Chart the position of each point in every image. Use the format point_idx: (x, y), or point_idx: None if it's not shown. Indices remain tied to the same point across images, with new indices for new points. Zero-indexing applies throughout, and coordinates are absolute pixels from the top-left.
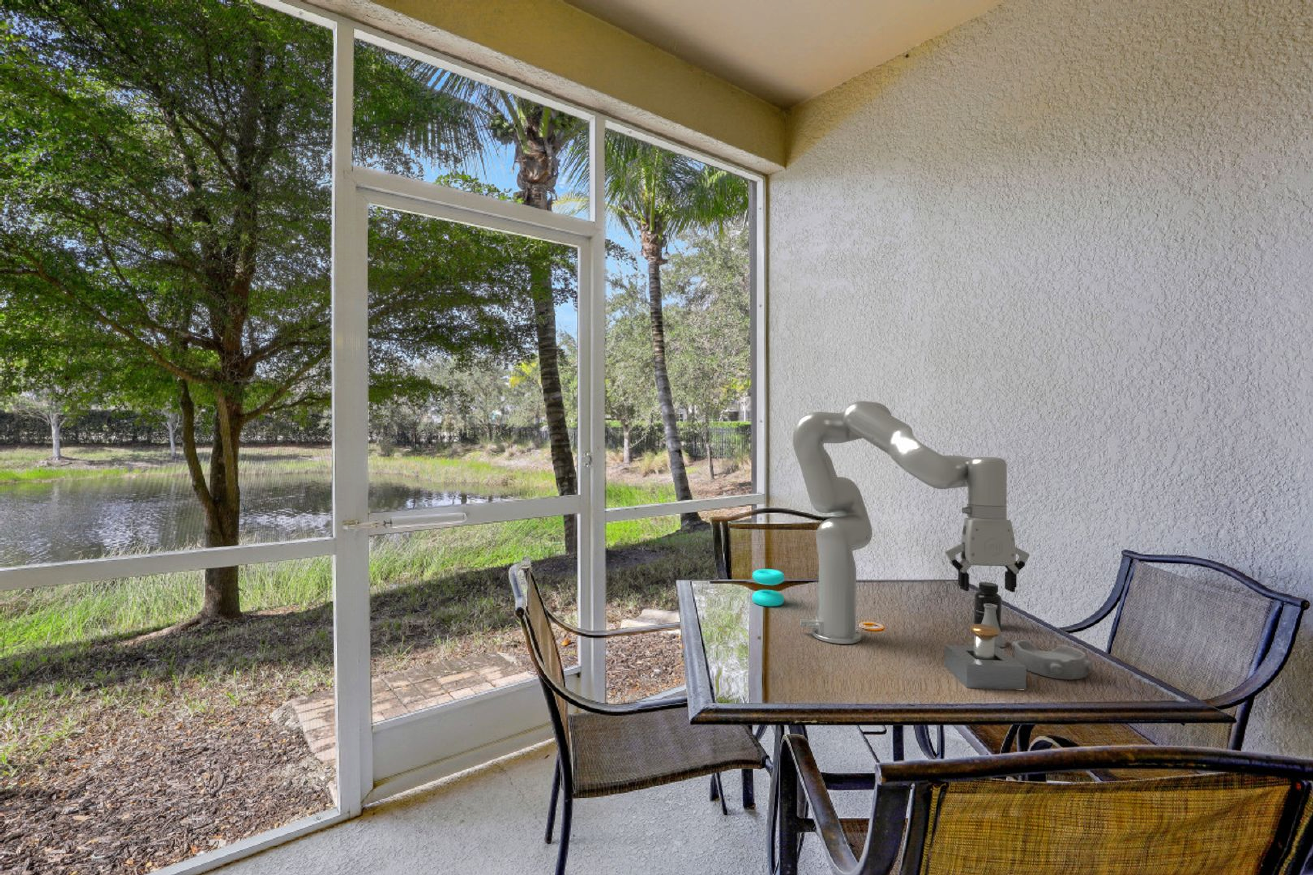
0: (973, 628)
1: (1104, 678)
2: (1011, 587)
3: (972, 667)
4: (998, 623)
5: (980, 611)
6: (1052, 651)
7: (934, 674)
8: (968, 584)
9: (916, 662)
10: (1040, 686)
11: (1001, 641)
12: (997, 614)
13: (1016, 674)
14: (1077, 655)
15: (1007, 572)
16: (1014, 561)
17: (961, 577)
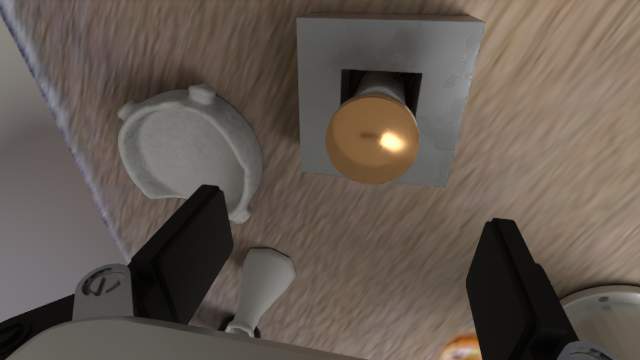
0: (418, 137)
1: (119, 104)
2: (209, 201)
3: (465, 20)
4: (223, 324)
5: None
6: (177, 193)
7: (505, 107)
8: (503, 248)
9: (501, 181)
10: (264, 46)
11: (252, 257)
12: None
13: (328, 16)
14: (136, 156)
15: (171, 314)
16: (21, 349)
17: (562, 314)
